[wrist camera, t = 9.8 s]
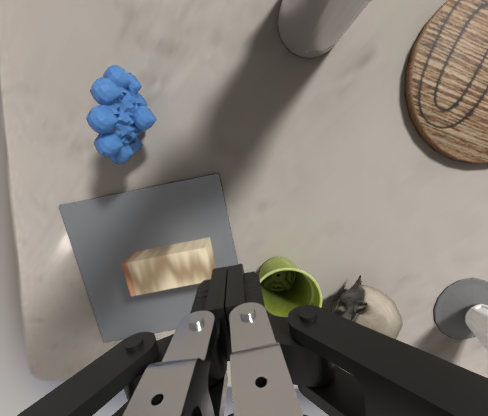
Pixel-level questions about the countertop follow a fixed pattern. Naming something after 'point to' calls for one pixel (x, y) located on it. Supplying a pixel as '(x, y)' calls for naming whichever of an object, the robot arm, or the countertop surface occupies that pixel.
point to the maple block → (169, 266)
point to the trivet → (452, 81)
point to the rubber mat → (144, 248)
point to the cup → (464, 310)
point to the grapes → (118, 114)
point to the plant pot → (287, 287)
